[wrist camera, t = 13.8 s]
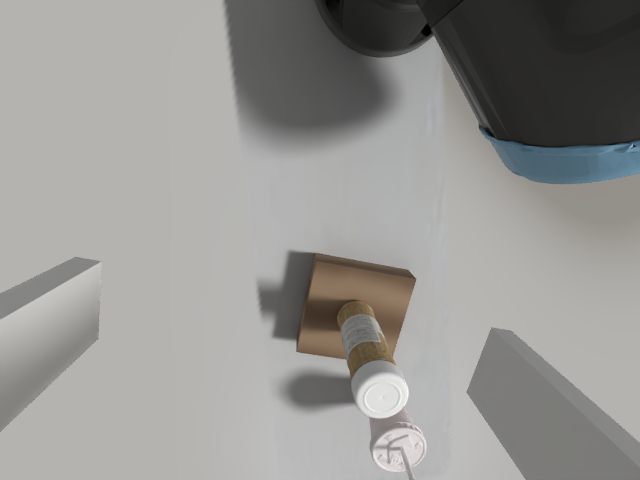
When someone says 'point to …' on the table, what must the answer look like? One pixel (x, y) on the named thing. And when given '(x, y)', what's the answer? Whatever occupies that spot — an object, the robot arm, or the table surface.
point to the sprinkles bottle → (370, 363)
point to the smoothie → (396, 443)
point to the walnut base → (346, 286)
